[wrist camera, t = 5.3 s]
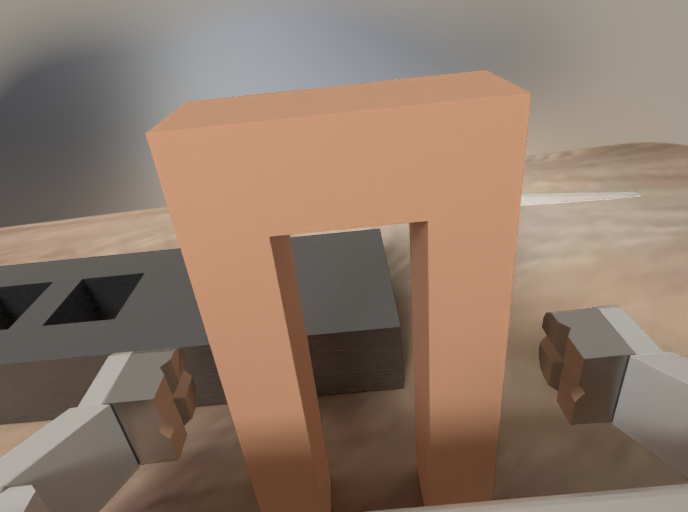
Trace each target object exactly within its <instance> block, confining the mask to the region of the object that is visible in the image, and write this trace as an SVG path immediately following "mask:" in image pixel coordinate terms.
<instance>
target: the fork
mask: <svg viewBox="0 0 688 512" xmlns="http://www.w3.org/2000/svg"><path fill="white" fill-rule="evenodd" d="M632 197H641V195H640V194H638V193H637V192H595V193H540V194H521V205H520V206H526V205H539V204H552V203H565V202H578V201H591V200H605V199H618V198H632Z"/></svg>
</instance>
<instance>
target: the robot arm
mask: <svg viewBox="0 0 688 512" xmlns="http://www.w3.org/2000/svg"><path fill="white" fill-rule="evenodd" d="M542 328H543V330H544V331H545V333H546V335H547V336H546V337H545V338H544V339H543V340H542V341H541V343H540V347H539V361H540V367H541V370H542V373H543V376H544V378H545V380H546V382H547V384H548V385H549V386H551V387H552V388H554V389H556V390H557V391H558V397H557V402H558V403H559V405H560V407H561V409H562V410H563V412H564V414H565V416H566V417H567V419H568V421H569V423H570V424H571V425H575V424H591V423H607V422H612V424H613V425H614V426H615V427H617V428H618V429H619V430H621V431H622V432H623V433H625V434H626V435H628V436H629V437H630V438H632V439H633V440H634V441H636V442H637V443H638V444H640V445H641V446H642V447H644V448H645V449H647V450H648V451H649V452H651V453H652V454H653V455H655V456H656V457H657V458H659V459H660V460H661V461H663V462H664V463H666V464H667V465H668V466H670V467H671V468H672V469H674V470H675V471H676V472H678V473H679V474H680V475H682V476H683V477H685V478H686V479H687V480H688V359H687V358H685V357H683V356H680V355H678V354H676V353H674V352H663V350H662V349H661V348H660V347H659V346H658V345H657V344H656V343H655V342H654V341H653V340H652V339H651V338H650V337H649V336H648V335H647V334H646V332H645V331H644V330H643V329H642V328H641V327H640V326H639V325H638V324H637V323H636V322H635V321H634V320H633V319H632V318H631V317H630V315H629V314H628V313H627V312H626V311H625V310H624V309H623V308H622V307H620V306H618V305H616V304H615V305H607V306H599V307H592V308H587V309H577V310H567V311H557V312H547V313H546V314H545V316H544V318H543V324H542ZM186 363H187V360H186V357H185V355H184V352H183V350H181V349H180V348H169V349H155V350H142V351H135V352H133V351H132V352H120V353H113V354H112V355H110V356H108V358H107V359H106V361H105V363H104V364H103V366H102V368H101V369H100V371H99V373H98V374H97V376H96V377H95V379H94V381H93V382H92V384H91V386H90V387H89V389H88V391H87V392H86V394H85V395H84V397H83V399H82V400H81V402H80V404H79V405H78V407H75V408H70V409H68V410H67V411H65V412H64V413H63V414H61V415H60V416H58V417H57V418H55V419H54V420H53V421H51V422H50V423H48V424H47V425H46V426H44V427H43V428H41V429H40V430H38V431H37V432H36V433H34V434H33V435H31V436H30V437H29V438H27V439H26V440H24V441H23V442H22V443H20V444H19V445H17V446H16V447H14V448H13V449H12V450H10V451H9V452H7V453H6V454H5V455H3V456H2V457H0V512H99V511H100V510H101V509H102V508H103V507H104V506H105V505H106V504H107V503H108V501H109V500H110V499H111V498H112V497H113V496H114V495H115V494H116V493H117V492H118V490H119V489H120V488H121V487H122V486H123V485H124V484H125V483H126V482H127V481H128V479H129V478H130V477H131V476H132V475H133V474H134V473H135V472H136V471H137V470H138V468H139V465H144V464H152V463H161V462H169V461H178V460H179V458H180V455H181V452H182V449H183V446H184V443H185V440H186V437H187V433H186V430H185V427H184V425H185V424H186V423H188V422H189V421H190V420H191V419H192V418H193V414H194V411H195V407H196V388H195V383H194V380H193V377H192V376H191V375H190V374H189V373H187V372H186V371H185V370H184V369H185V366H186ZM366 512H688V483H687V484H675V485H664V486H652V487H641V488H630V489H618V490H607V491H595V492H584V493H572V494H561V495H549V496H538V497H526V498H515V499H503V500H492V501H480V502H469V503H458V504H446V505H435V506H423V507H412V508H400V509H389V510H377V511H366Z"/></svg>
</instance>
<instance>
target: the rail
mask: <svg viewBox="0 0 688 512" xmlns="http://www.w3.org/2000/svg"><path fill="white" fill-rule="evenodd" d="M290 241H291V247H292V253H293V258H294V264H295V270H296V276H297V282H298V288H299V293H300V299H301V305H302V311H303V317H304V323H305V328H306V334H307V340H308V346H309V352H310V357H311V363H312V369H313V375H314V381H315V387H316V392H317V396H319V395H330V394H341V393H352V392H363V391H374V390H385V389H396V388H404V387H403V365H402V344H401V326H400V321H399V316H398V312H397V307H396V302H395V298H394V293H393V288H392V284H391V279H390V274H389V270H388V265H387V260H386V256H385V251H384V246H383V242H382V237H381V232H380V229H372V230H362V231H352V232H341V233H331V234H321V235H311V236H301V237H291V238H290ZM169 348H180V349H181V350H183V352H184V355H185V357H186V360H187V363H186V366H185V369H184V370H185V371H186V372H187V373H189V374H190V375H191V376H192V377H193V380H194V383H195V388H196V407H198V406H209V405H220V404H228V403H227V400H226V396H225V393H224V390H223V387H222V383H221V380H220V377H219V373H218V370H217V367H216V364H215V360H214V357H213V354H212V350H211V347H210V344H209V341H208V337H207V334H206V331H205V327H204V324H203V321H202V318H201V314H200V311H199V308H198V304H197V301H196V298H195V295H194V291H193V288H192V285H191V281H190V278H189V275H188V271H187V268H186V265H185V262H184V258H183V255H182V252H181V248H179V249H169V250H159V251H149V252H139V253H129V254H119V255H109V256H98V257H88V258H78V259H68V260H58V261H48V262H38V263H28V264H17V265H7V266H0V424H11V423H22V422H33V421H44V420H54V419H55V418H57V417H58V416H60V415H61V414H63V413H64V412H65V411H67V410H68V409H70V408H75V407H78V405H79V404H80V402H81V400H82V399H83V397H84V395H85V394H86V392H87V391H88V389H89V387H90V386H91V384H92V382H93V381H94V379H95V377H96V376H97V374H98V373H99V371H100V369H101V368H102V366H103V364H104V363H105V361H106V359H107V358H108V356H110V355H112V354H113V353H120V352H132V351H133V352H135V351H142V350H155V349H169Z"/></svg>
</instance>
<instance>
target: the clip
mask: <svg viewBox="0 0 688 512" xmlns="http://www.w3.org/2000/svg"><path fill="white" fill-rule="evenodd" d="M530 99H531V92H529V91H527V90H525V89H523V88H520V87H519V86H517V85H515V84H512V83H510V82H508V81H507V80H505V79H503V78H500V77H498V76H496V75H494V74H492V73H490V72H488V71H486V70H482V71H473V72H463V73H454V74H445V75H435V76H426V77H416V78H407V79H397V80H388V81H379V82H369V83H360V84H351V85H341V86H331V87H322V88H313V89H303V90H294V91H284V92H276V93H265V94H256V95H246V96H238V97H228V98H219V99H209V100H199V101H190V102H185V103H184V104H183V105H181V106H180V107H179V108H178V109H176V110H175V111H174V112H172V113H171V114H170V115H168V116H167V117H166V118H164V119H163V120H162V121H161V122H159V123H158V124H157V125H155V126H154V127H153V128H151V129H150V130H149V131H148V132H146V136H147V140H148V143H149V147H150V150H151V153H152V156H153V160H154V163H155V166H156V170H157V173H158V176H159V179H160V182H161V186H162V189H163V192H164V196H165V199H166V202H167V206H168V209H169V212H170V216H171V219H172V222H173V225H174V229H175V232H176V235H177V239H178V242H179V245H180V248H181V252H182V255H183V258H184V262H185V265H186V268H187V271H188V275H189V278H190V281H191V285H192V288H193V291H194V295H195V298H196V301H197V304H198V308H199V311H200V314H201V318H202V321H203V324H204V327H205V331H206V334H207V337H208V341H209V344H210V347H211V350H212V354H213V357H214V360H215V364H216V367H217V370H218V373H219V377H220V380H221V383H222V387H223V390H224V393H225V396H226V400H227V403H228V406H229V410H230V413H231V416H232V419H233V423H234V426H235V429H236V433H237V436H238V439H239V442H240V446H241V449H242V452H243V456H244V459H245V462H246V465H247V469H248V472H249V475H250V479H251V482H252V485H253V488H254V492H255V495H256V498H257V502H258V505H259V508H260V511H261V512H331V474H330V468H329V462H328V456H327V451H326V445H325V439H324V433H323V427H322V422H321V416H320V410H319V404H318V398H317V392H316V387H315V381H314V375H313V369H312V363H311V357H310V352H309V346H308V340H307V334H306V328H305V323H304V317H303V311H302V305H301V299H300V293H299V288H298V282H297V276H296V270H295V264H294V258H293V253H292V247H291V241H290V235H291V234H301V233H311V232H321V231H331V230H341V229H352V228H362V227H372V226H382V225H392V224H402V223H409V227H410V259H411V292H412V324H413V356H414V389H415V421H416V454H417V472H418V477H419V483H420V488H421V493H422V499H423V504H424V506H435V505H446V504H458V503H469V502H480V501H492V498H493V487H494V477H495V466H496V456H497V445H498V435H499V424H500V414H501V403H502V393H503V383H504V372H505V362H506V351H507V341H508V330H509V320H510V309H511V299H512V288H513V278H514V267H515V257H516V246H517V236H518V226H519V215H520V205H521V194H522V184H523V173H524V163H525V151H526V142H527V130H528V121H529V109H530Z"/></svg>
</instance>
